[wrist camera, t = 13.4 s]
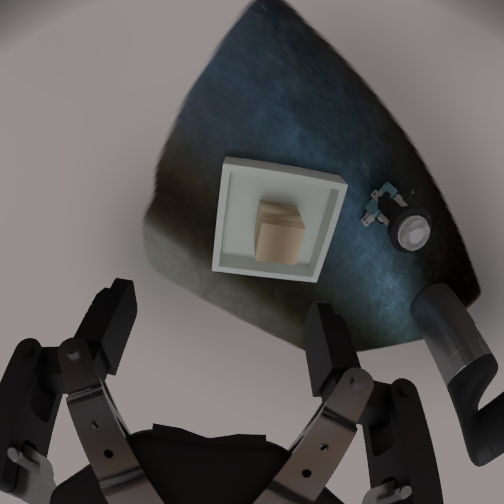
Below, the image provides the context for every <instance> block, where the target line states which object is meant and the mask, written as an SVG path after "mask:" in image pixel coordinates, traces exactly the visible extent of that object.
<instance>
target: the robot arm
mask: <svg viewBox="0 0 504 504" xmlns="http://www.w3.org/2000/svg"><path fill="white" fill-rule="evenodd" d="M136 315H137V302H136V296H135V290H134V284H133V281H132V280H126V279H120V278H116V279H115V280H114V282H113V284H112V286H111V287H110V289H109V288H104V289H103V290H101V291H100V292H99V293H98V294H97V295H96V297H95V298H94V300H93V302H92V305H90V307H89V309H88V312H87V313H86V315H85V317H84V318H83V320H82V322H81V324H80V326H79V328H78V330H77V332H76V334H75V336H74V337H73V338H69V339H66V340H65V341H63V342H62V343H61V344H60V346H59V347H42V346H41V345H40V343H39V342H38V341H37V340H36V339H33V338H27V339H24V340H22V341H21V342H20V343H19V344H18V345H17V347H16V349H15V351H14V353H13V355H12V357H11V359H10V361H9V364H8V366H7V369H6V371H5V373H4V375H3V378H2V380H1V382H0V491H2V492H5V493H7V494H10V495H12V496H15V497H18V498H20V499H22V500H23V501H25V502H27V503H29V504H344V503H343V502H342V501H341V500H339V499H338V498H337V497H336V496H335V495H334V494H333V493H332V492H331V491H330V490H329V489H327V488H326V487H325V485H326V484H327V482H328V480H329V479H330V477H331V476H332V474H333V473H334V471H335V469H336V468H337V466H338V464H339V463H340V461H341V459H342V457H343V456H344V454H345V452H346V451H347V449H348V447H349V445H350V443H351V442H352V440H353V438H354V436H355V434H356V432H357V427H356V424H361V425H362V426H363V433H364V439H365V446H366V453H367V460H368V468H369V477H370V486H371V489H370V490H369V491H368V492H367V493H366V494H365V496H364V498H363V502H362V504H444V503H443V497H442V490H441V484H440V478H439V473H438V468H437V463H436V458H435V453H434V449H433V445H432V441H431V437H430V433H429V429H428V425H427V421H426V418H425V414H424V411H423V407H422V404H421V401H420V397H419V395H418V392H417V388H416V387H415V385H414V384H413V383H412V382H411V381H409V380H407V379H404V378H400V379H397V380H395V381H394V382H393V383H392V384H387V383H382V382H378V381H374V380H373V378H372V377H371V375H370V374H369V373H368V372H367V371H365V370H364V369H361V366H360V363H359V359H358V356H357V353H356V350H355V347H354V344H353V341H352V338H351V335H350V333H349V329H348V326H347V323H346V321H345V320H344V319H343V318H342V317H341V315H340V314H334V311H333V308H332V305H331V303H330V302H318V301H314V302H313V303H312V305H311V307H310V310H309V313H308V315H307V318H306V320H305V323H304V326H303V341H304V346H305V352H306V358H307V363H308V369H309V375H310V381H311V387H312V393H313V397H322V403H321V405H320V406H319V408H318V409H317V411H316V412H315V414H314V415H313V417H312V418H311V420H310V421H309V423H308V424H307V426H306V427H305V428H304V430H303V431H302V433H301V434H300V435H299V437H298V438H297V439H296V440H295V442H294V443H293V444H292V445H291V447H290V448H289V449H288V450H286V449H285V448H283V447H281V446H279V445H277V444H275V443H271V442H269V441H266V435H249V434H235V435H230V436H223V437H216V438H206V437H203V436H200V435H197V434H195V433H192V432H189V431H186V430H184V429H181V428H176V427H170V426H165V425H159V424H153V428H152V429H150V430H142V431H139V432H136V433H133V434H130V432H129V430H128V428H127V426H126V424H125V423H124V421H123V419H122V417H121V415H120V414H119V411H118V409H117V407H116V405H115V403H114V400H113V398H112V396H111V394H110V391H109V389H108V387H107V384H106V382H105V379H106V376H107V374H111V375H116V372H117V369H118V366H119V363H120V360H121V357H122V354H123V351H124V349H125V346H126V343H127V340H128V337H129V335H130V332H131V329H132V326H133V324H134V321H135V319H136ZM411 315H412V317H413V319H414V320H415V322H416V324H417V326H418V328H419V330H420V332H421V334H422V336H423V338H424V340H425V342H426V344H427V346H428V348H429V350H430V352H431V354H432V356H433V358H434V360H435V362H436V365H437V367H438V369H439V371H440V373H441V375H442V378H443V379H444V382H445V384H446V386H447V389H448V392H449V394H450V396H451V399H452V402H453V405H454V408H455V410H456V413H457V416H458V419H459V422H460V426H461V429H462V433H463V437H464V441H465V444H466V448H467V452H468V454H469V457H470V459H471V461H472V462H473V463H474V464H475V465H476V466H479V467H480V466H483V465H485V464H487V463H488V462H490V461H492V460H494V459H495V458H497V457H498V456H500V455H501V454H503V453H504V392H503V393H501V394H500V395H499V396H497V397H496V398H495V399H493V400H492V401H491V402H490V403H488V404H487V405H486V406H484V407H483V408H481V409H480V410H479V411H478V404H479V401H480V399H481V397H482V395H483V393H484V391H485V390H486V388H487V387H488V385H489V384H490V382H491V381H492V380H493V378H494V377H495V375H496V373H497V370H498V364H497V361H496V359H495V357H494V356H493V354H492V352H491V351H490V349H489V347H488V345H487V344H486V342H485V340H484V339H483V337H482V335H481V334H480V333H479V331H478V329H477V327H476V326H475V322H474V321H473V319H472V317H471V316H470V315H469V313H468V311H467V310H466V309H465V307H464V306H463V304H462V303H461V301H460V300H459V298H458V297H457V296H456V294H455V293H454V292H453V290H451V289H450V288H449V286H448V285H447V284H445V283H435V284H433V285H431V286H429V287H427V288H426V289H424V290H423V291H422V292H421V293H420V294H419V295H418V296H417V297H416V299H415V300H414V302H413V304H412V306H411ZM63 394H68V397H67V398H66V402H67V406H68V409H69V411H70V415H71V418H72V420H73V423H74V426H75V429H76V431H77V434H78V437H79V439H80V441H81V444H82V446H83V448H84V451H85V453H86V456H87V458H88V460H89V462H90V464H89V465H87V466H86V467H84V468H83V469H82V470H80V471H79V472H77V473H76V474H74V475H73V476H71V477H70V478H68V479H67V480H65V481H64V482H63V483H61V484H60V485H58V486H56V484H55V482H54V479H53V476H54V473H53V468H52V465H51V463H50V462H49V460H48V459H47V454H48V449H49V444H50V440H51V436H52V431H53V427H54V423H55V419H56V416H57V412H58V409H59V405H60V402H61V398H62V395H63Z"/></svg>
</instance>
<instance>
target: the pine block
mask: <svg viewBox="0 0 504 504" xmlns="http://www.w3.org/2000/svg"><path fill="white" fill-rule="evenodd" d="M305 230H306V229H305V226H304V223H303V221H302V218H301V215H300V213H299V210H298V208H297V206H295V205H289V204H282V203H276V202H269V201H262V200H260V202H259V207H258V213H257V219H256V224H255V230H254V253H255V261H264V262H272V263H280V264H289V265H296V262H297V258H298V255H299V251H300V248H301V244H302V241H303V237H304V234H305Z"/></svg>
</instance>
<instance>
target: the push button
mask: <svg viewBox="0 0 504 504" xmlns="http://www.w3.org/2000/svg"><path fill="white" fill-rule="evenodd" d="M375 192H376V194H375V195H373V194H374V193H375ZM371 196H372V197H373V198H372V199H371V201H370V202H369V203H368V204H367V205H366V206H365V209H366V210H367V212H366V213H365V216H364V217H363V218H362V219H361V222H362V223H363V225H365V226H366V227H367V226H368V225H369V224H370V223H371V222H373V221H374V220H375V219H376V220H377V221H378V222H379V223H380V224H383V223H385V224H386V226H387V227H388V230H387V232H388V234H389V236H390V241H391V243H392V245H393V246H394V248H395V249H396V250H398V251H400V252H403V253H408V252H412V251H415V250H417V249H419V248H421V247H422V246H423V245H424V244H425V243H426V241H427V240H428V238H429V235H430V232H431V228H432V221H431V217H430V215H429V214H428V212H426V211H425V210H424V209H423V208H420V207H417V206H415V205H407V204H406V203H405V202H404V201H403V200H404V197H403V196H402V195H401V194H400V193H399V192H398V191H397V189H396V188H395V187H393V186H392V185H391V184H390V183H388V182H386V183H385V184H384V185H383V187H382V188H381V189H380V190H379V191H377V190H374V192H373V193H372V194H371ZM399 205H400V206H401V207H400V206H399ZM417 213H419V214H420V216H419V215H418V214H417ZM364 218H366V220H365V221H364V220H363V219H364ZM388 218H389V219H390V221H389V220H388ZM367 221H368V224H366V222H367ZM396 237H397V239H398V240H396Z"/></svg>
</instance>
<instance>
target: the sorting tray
mask: <svg viewBox="0 0 504 504" xmlns="http://www.w3.org/2000/svg"><path fill="white" fill-rule="evenodd" d="M347 187H348V184H347V183H346V182H345V181H344V180H343V179H342V178H341V177H340V176H339V175H335V174H330V173H325V172H320V171H315V170H310V169H305V168H300V167H294V166H289V165H283V164H277V163H271V162H265V161H258V160H251V159H244V158H236V157H228V156H226V157H225V160H224V163H223V169H222V177H221V185H220V194H219V203H218V212H217V222H216V232H215V242H214V253H213V264H212V271H218V272H227V273H235V274H243V275H252V276H260V277H269V278H278V279H288V280H297V281H306V282H317V280H318V277H319V274H320V271H321V268H322V265H323V263H324V260H325V257H326V254H327V251H328V248H329V245H330V242H331V239H332V236H333V233H334V230H335V227H336V223H337V220H338V217H339V214H340V211H341V207H342V204H343V201H344V197H345V194H346V190H347ZM260 200H262V201H269V202H276V203H282V204H289V205H295V206H297V208H298V210H299V213H300V215H301V218H302V221H303V223H304V226H305V229H306V230H305V234H304V237H303V241H302V244H301V248H300V251H299V255H298V258H297V262H296V265H289V264H280V263H272V262H264V261H255V253H254V230H255V224H256V219H257V213H258V207H259V202H260Z"/></svg>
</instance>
